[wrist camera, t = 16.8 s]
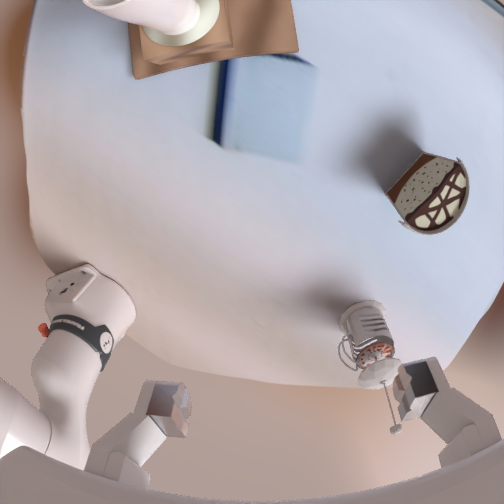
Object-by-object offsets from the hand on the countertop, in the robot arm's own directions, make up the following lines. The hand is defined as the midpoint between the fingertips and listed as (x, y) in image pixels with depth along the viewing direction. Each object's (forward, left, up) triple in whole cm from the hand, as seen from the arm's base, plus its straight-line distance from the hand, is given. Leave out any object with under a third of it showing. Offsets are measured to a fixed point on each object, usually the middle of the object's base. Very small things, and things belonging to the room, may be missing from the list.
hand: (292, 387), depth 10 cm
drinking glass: (-8, +21, -26) cm, 35 cm away
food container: (+22, -4, -34) cm, 41 cm away
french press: (+14, -30, -34) cm, 48 cm away
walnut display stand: (-6, +24, -34) cm, 42 cm away
